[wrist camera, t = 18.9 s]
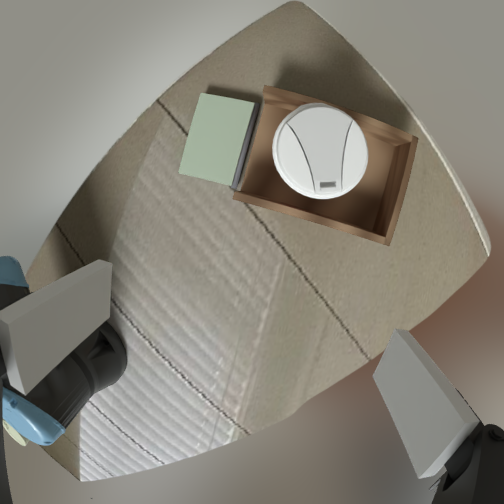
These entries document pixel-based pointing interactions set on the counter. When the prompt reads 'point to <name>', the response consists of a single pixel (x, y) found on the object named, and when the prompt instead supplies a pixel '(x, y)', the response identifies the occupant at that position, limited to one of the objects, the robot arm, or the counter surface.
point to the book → (219, 139)
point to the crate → (349, 204)
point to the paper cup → (320, 151)
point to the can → (15, 434)
